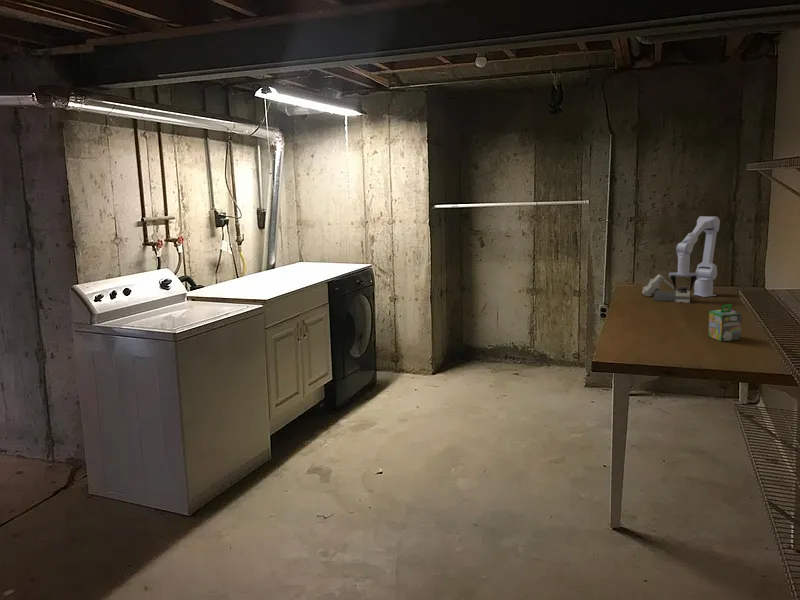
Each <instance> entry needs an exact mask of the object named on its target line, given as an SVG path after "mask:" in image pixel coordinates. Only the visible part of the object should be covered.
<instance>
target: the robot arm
mask: <svg viewBox="0 0 800 600" xmlns="http://www.w3.org/2000/svg"><path fill="white" fill-rule="evenodd" d="M720 224H721V220H720V218H719V216H709V215H708V216H705V215H704V216H703V215H699V217H698V218H697V220H696V226H695V227H694V229H693V230H692V232H688V233H687V235H686V236H685V237H684V239H682V241H681V242H679V243H677V244H676V248H675V250H676V255H677V272H669V273H668V277H669V278H670V279H671V281H672V285H673V286H674V289H673V290H674V291H675V290H676V288H677V282H676V281H677V277H678V278H679V277H681V278H682V277H687V278H689V277H690V286H689V291H692V289H693V290H694V291H693V292H694V293H692V295H694V296H697V297H698V296H699V297H703V298H707V297H715V296H717V294H714V293H713V292H714V280H715V279H716V278H718V277H717V276H718V267H717V265H716V264H715V263H714V262H713V261H714V255H715V247H716V242H717V241H716V240H717V236H718V235H717V233H718V232H719V231H720V226H721V225H720ZM702 232H704V233H705V240H704V246H703V255H702V261H701V262H700V263H698V264H697V266H696V270H695V272H690V267H691V266H690V265H691V264H690V262H691V261H690V259H691V253H692V252H693V249H694V245H695V244H696V243H697V241H698V240H699V236H700V234H701V233H702ZM693 286H694V288H693Z"/></svg>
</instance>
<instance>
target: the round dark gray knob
mask: <svg viewBox="0 0 800 600" xmlns="http://www.w3.org/2000/svg"><path fill="white" fill-rule="evenodd" d="M688 288H689V286H679V289H681V293H687V291H688Z"/></svg>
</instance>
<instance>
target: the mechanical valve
mask: <svg viewBox="0 0 800 600" xmlns="http://www.w3.org/2000/svg"><path fill="white" fill-rule="evenodd" d="M662 282H664V284H666V285H667V286H669V287H670V288H671V289H672V290H674V285H673V284H672V283H670V282H669V281H668V280H667V279H665V277H664V276H663V275H662V274H660V273H658V274H657V275H656V276H655V278H651V279H650V280H649V282H648V283H647V284H646V285H645V286H643V287H642V291H641V292H642V294H643V295H644V296H646V297H651V296H653V297H654V291H661V289H660V284H661V283H662ZM676 291H681V289H680V288H677V287H676V290H674V292H676Z"/></svg>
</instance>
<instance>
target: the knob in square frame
mask: <svg viewBox="0 0 800 600" xmlns="http://www.w3.org/2000/svg"><path fill="white" fill-rule="evenodd" d="M653 301H655V302H662V301H663V302H674V303H680V302H683V303H684V304H685V303H686V304H687V303H688V304H690V302H691V290H687V293H681V291H663V290H662V291H661V290H660V291H654V296H653Z"/></svg>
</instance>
